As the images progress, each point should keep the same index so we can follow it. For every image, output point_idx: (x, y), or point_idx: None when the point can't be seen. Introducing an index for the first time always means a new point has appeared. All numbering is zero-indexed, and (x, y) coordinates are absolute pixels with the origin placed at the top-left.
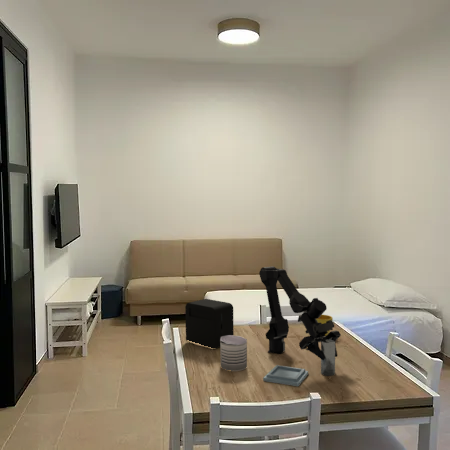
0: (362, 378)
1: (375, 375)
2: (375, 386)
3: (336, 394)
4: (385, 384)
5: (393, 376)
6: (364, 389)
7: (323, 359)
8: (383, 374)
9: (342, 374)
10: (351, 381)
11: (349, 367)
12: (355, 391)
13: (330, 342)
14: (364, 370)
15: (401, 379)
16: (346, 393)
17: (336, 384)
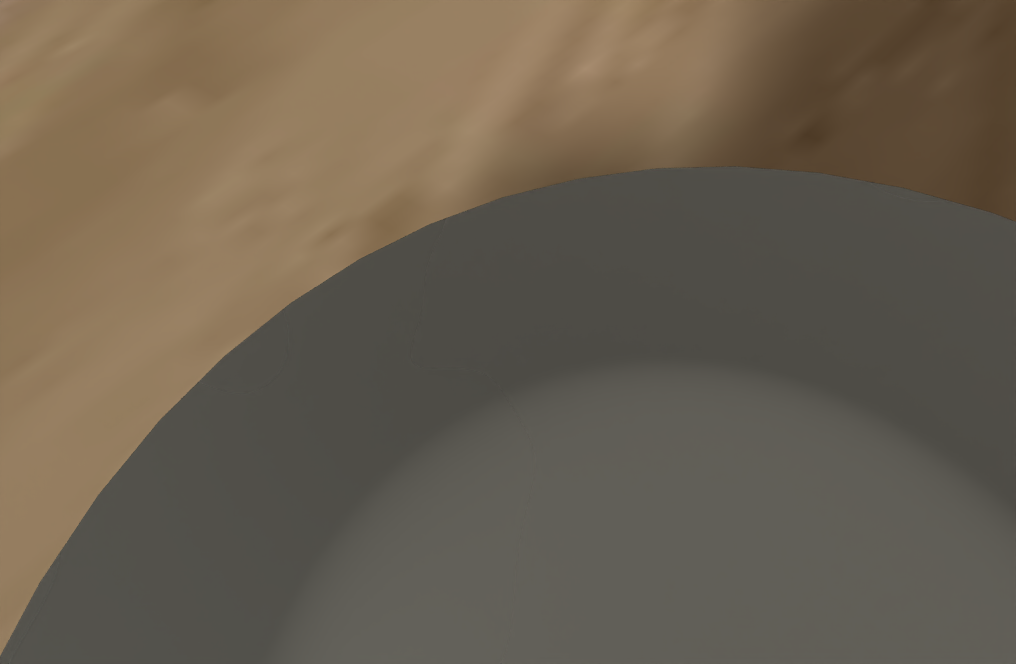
0: (328, 219)
1: (115, 209)
2: (419, 13)
3: (981, 41)
4: (290, 6)
5: (10, 101)
6: (585, 9)
7: None
8: (19, 187)
9: None
10: None
11: None
12: (714, 13)
13: (734, 455)
14: (31, 406)
15: (45, 21)
16: (847, 16)
17: None
